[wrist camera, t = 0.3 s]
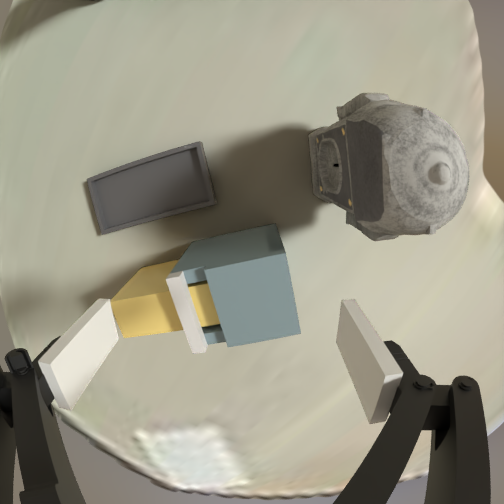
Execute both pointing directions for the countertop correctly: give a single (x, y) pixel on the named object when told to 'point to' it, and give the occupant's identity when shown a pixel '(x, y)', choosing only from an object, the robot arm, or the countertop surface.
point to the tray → (152, 188)
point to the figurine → (390, 167)
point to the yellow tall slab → (158, 303)
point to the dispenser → (237, 288)
